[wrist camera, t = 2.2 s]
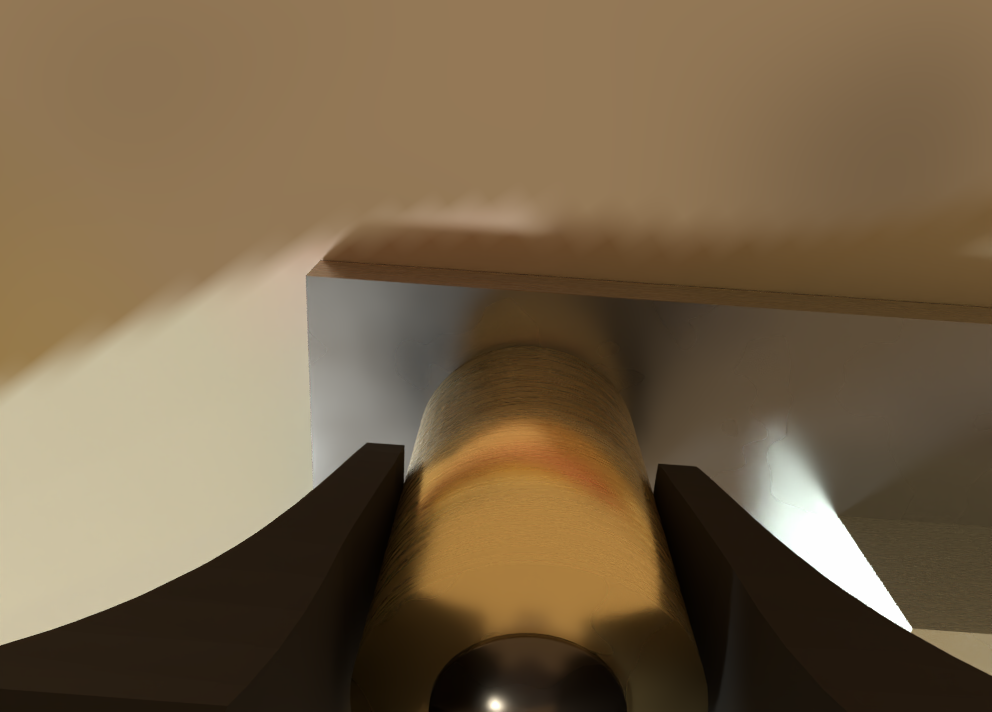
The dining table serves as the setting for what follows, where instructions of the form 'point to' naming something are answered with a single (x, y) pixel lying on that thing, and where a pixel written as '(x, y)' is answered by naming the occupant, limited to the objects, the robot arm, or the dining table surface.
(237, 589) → the robot arm
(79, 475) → the dining table surface
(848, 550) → the jig
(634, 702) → the bushing
